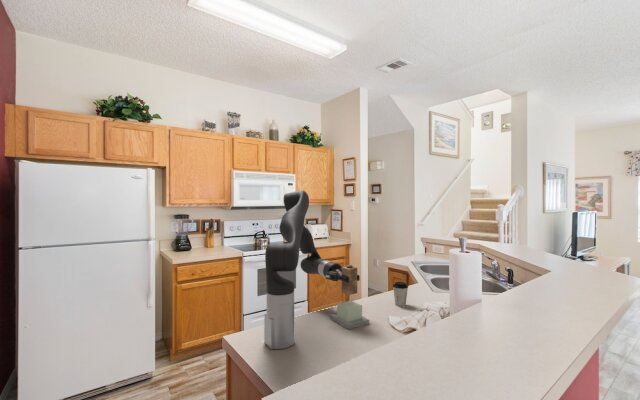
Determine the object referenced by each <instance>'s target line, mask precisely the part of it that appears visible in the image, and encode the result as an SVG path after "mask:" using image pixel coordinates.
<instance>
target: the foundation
mask: <svg viewBox="0 0 640 400" xmlns="http://www.w3.org/2000/svg"><path fill="white" fill-rule="evenodd" d="M336 306H337V308H336V309H337V310H336V311H337V312H336V313H333V314H330V319H331V320H332V321H334V322H335V323H338V324H339V325H341V326H343V327H344V328H346V329H347V330H351V329H355V328H358V327H362V326H366V325H369V324H370V319H369V318H367V317H365V316H363V305H361V304H359V303H357V302H355V301H353V300H348V301H344V302H339V303H336Z"/></svg>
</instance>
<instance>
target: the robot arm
mask: <svg viewBox="0 0 640 400" xmlns="http://www.w3.org/2000/svg"><path fill="white" fill-rule="evenodd" d="M308 194H309V193H307V192H306V191H305V190H296V191H293V192H292V191H291V192H287V193H285V194H284V196H283V205H284V209H285V211H286V212H285V213H284V214H283V215H282V217H281V221H280V223H279V233H280V235H281V237H282V238H283V239H284V240H285V241H286V242H287V243H269V244H268V245H267V247H266V248H265V253H264V254H265V261H264V263H265V276H266V277H265V279H266V280H265V282H266V283H265V284H266V313H264V315H263V316H264V317H263V319H264V321H263V322H264V324H263V325H264V327H263V328H264V329H263V330H264V333H263V334H264V336H263V337H264V338H263V339H264V340H263V341H264V344H265V345H267V347H268V348H269V349H270V350H282V349H283V350H284V349H288V348H290V347H292V346H293V345H294V344H295V283H294V282H293V281H292V280H289V279H287V278H285V277H283V276H282V275H280V274H279V273H278V272H294V271H295V270H296V269H297V268H298V264H299V259H300V252H301V254H304V255H309V254H310V255H309V256H307V257H305V258H303V259H301V261H300V269H301V270H302V271H303V272H304V273H306V274H309V275H320V276H322V277H323V278H325V279H326V280H330V281H333V282H338V281H340V282H342V281H344V282H347V283H349V277H348V276H345V275H343V274H342V267H343V266H342V265H341V264H339V263H338V262H334V261H333V260H326V259H324V258H322V257H321V255H320V254H319V252H318V250H317V248H316V246H315V243H314V239H313V235H312V233H311V230H309V229H308V227H306V226H305V219H306V215H307V212H308V210H309V207H310V198H309V195H308ZM360 277H361V276H360V275H359V274H357V282H359V281H360Z"/></svg>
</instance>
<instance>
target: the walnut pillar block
mask: <svg viewBox="0 0 640 400" xmlns="http://www.w3.org/2000/svg"><path fill="white" fill-rule="evenodd" d="M341 267H342V274H343V275H345V276H348V277H349V283H347V282H344V281H341V293H343V294H345V295H348V296H350V295H355V294H358V281H357V275H358V267H356V266H353V265H352V264H346V266H341Z"/></svg>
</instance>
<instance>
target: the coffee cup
mask: <svg viewBox="0 0 640 400" xmlns="http://www.w3.org/2000/svg"><path fill="white" fill-rule="evenodd" d="M408 288H409V285H408V284H407V283H406V282H403V281H395V282H394V283H393V284H392V289H393V295H394V296H393V297H394V304H395V306H396V307H399V308H400V307H401V308H402V307H406V305H407V297H408V290H409V289H408Z"/></svg>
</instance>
